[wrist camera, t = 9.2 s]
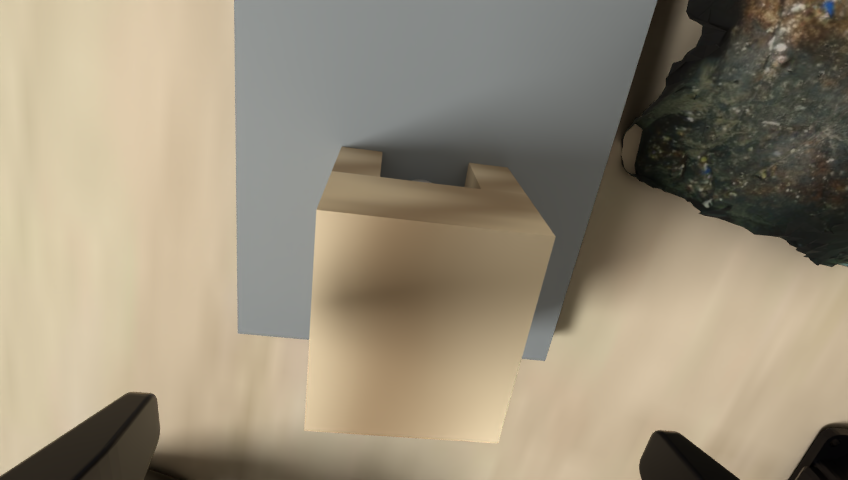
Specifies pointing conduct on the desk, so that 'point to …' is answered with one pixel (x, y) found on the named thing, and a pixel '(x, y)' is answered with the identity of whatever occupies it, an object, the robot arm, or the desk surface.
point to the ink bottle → (156, 476)
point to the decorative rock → (759, 122)
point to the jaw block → (420, 301)
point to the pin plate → (421, 121)
